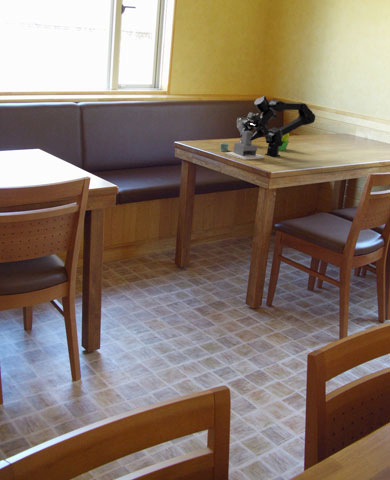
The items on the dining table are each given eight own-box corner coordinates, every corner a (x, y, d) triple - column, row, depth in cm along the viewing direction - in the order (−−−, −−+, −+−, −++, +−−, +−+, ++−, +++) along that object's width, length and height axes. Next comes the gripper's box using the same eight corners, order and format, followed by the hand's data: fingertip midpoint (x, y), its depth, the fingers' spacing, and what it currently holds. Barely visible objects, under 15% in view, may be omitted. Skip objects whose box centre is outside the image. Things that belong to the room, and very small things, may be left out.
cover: (246, 152, 340) (249, 130, 336) (256, 156, 333) (259, 133, 328) (233, 152, 335) (236, 129, 331) (242, 156, 328) (245, 133, 324)
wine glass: (235, 141, 375) (238, 117, 370) (248, 143, 374) (251, 118, 369) (233, 143, 368) (236, 118, 363) (246, 145, 367) (249, 120, 362)
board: (245, 152, 344) (245, 150, 344) (263, 157, 335) (264, 156, 335) (225, 154, 334) (225, 152, 333) (244, 159, 324) (244, 158, 324)
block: (227, 150, 346) (228, 143, 344) (227, 151, 342) (228, 144, 340) (220, 149, 345) (221, 142, 344) (220, 151, 342) (221, 144, 340)
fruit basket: (276, 147, 372) (279, 128, 368) (290, 149, 368) (293, 131, 364) (269, 149, 362) (272, 130, 358) (283, 152, 358) (286, 132, 355)
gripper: (247, 104, 335) (228, 124, 333) (267, 110, 320) (248, 131, 318) (256, 119, 342) (238, 139, 340) (277, 125, 327) (258, 145, 325)
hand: (245, 138), depth 331 cm, fingers open, 9 cm apart
